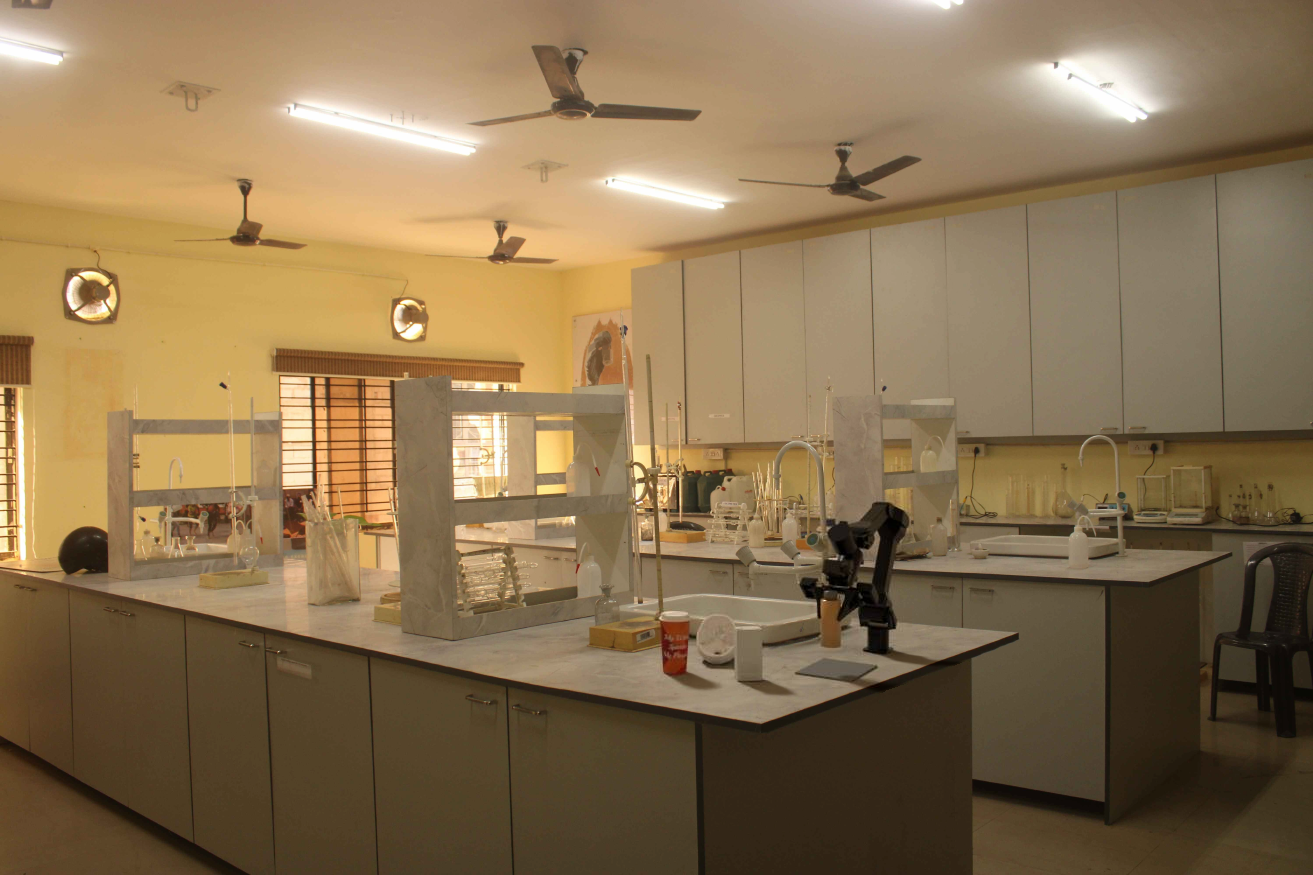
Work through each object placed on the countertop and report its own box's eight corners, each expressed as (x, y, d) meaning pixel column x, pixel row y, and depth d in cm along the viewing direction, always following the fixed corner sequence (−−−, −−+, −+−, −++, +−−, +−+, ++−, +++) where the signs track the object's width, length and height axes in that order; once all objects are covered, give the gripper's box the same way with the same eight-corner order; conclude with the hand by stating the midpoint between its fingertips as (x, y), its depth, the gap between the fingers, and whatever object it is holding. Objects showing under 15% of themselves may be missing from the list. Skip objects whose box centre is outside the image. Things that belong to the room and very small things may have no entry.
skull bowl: (742, 647, 251) (740, 612, 244) (737, 687, 239) (735, 651, 233) (702, 644, 252) (699, 610, 246) (695, 684, 241) (692, 648, 234)
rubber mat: (823, 659, 243) (823, 657, 243) (877, 666, 236) (877, 664, 236) (795, 673, 228) (795, 672, 228) (851, 681, 220) (851, 680, 220)
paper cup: (663, 676, 224) (663, 616, 224) (655, 668, 232) (655, 611, 232) (695, 674, 226) (695, 615, 227) (685, 667, 234) (686, 609, 234)
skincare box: (759, 676, 225) (759, 625, 225) (763, 681, 220) (763, 628, 220) (733, 677, 224) (733, 625, 224) (736, 682, 220) (737, 629, 220)
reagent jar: (820, 643, 231) (820, 589, 231) (840, 644, 230) (841, 590, 230) (820, 647, 226) (820, 592, 226) (840, 648, 226) (841, 593, 226)
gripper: (802, 544, 237) (782, 594, 228) (874, 549, 226) (856, 602, 217) (815, 572, 243) (796, 622, 234) (886, 578, 233) (869, 631, 224)
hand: (828, 619), depth 227 cm, fingers closed on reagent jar, 5 cm apart
